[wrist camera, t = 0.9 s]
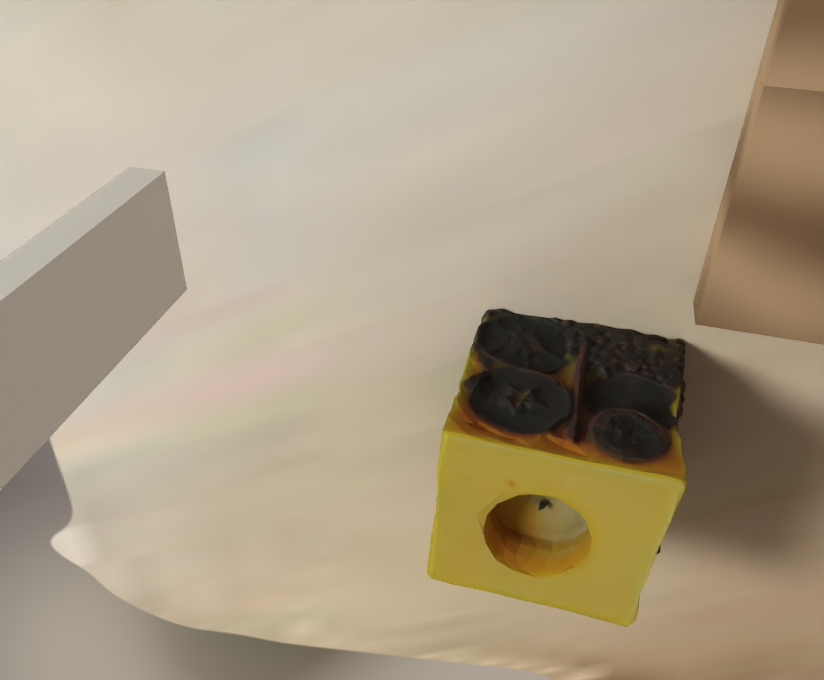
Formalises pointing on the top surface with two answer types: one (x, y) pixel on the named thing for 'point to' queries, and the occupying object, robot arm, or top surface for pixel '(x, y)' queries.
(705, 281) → the seat board
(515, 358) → the black and yellow cube
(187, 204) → the top surface
